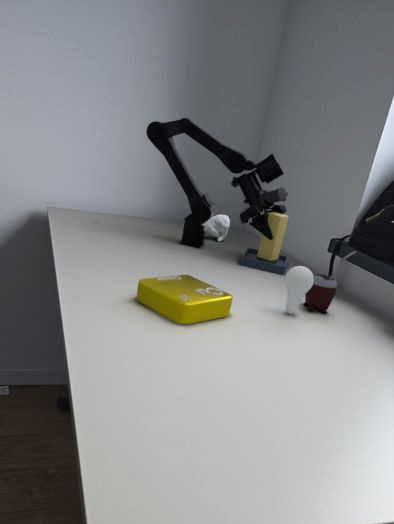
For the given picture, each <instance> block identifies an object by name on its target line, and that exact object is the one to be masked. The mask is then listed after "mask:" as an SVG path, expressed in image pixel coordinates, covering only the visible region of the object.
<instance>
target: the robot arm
mask: <svg viewBox="0 0 394 524" xmlns="http://www.w3.org/2000/svg"><path fill="white" fill-rule="evenodd" d="M145 134H146V137H147V138H148V140H149V141H150V143H151V144H152V145H153V146H154V147H155V149H156V150H158V151H159V152H160V153H161V154H162V156H163V158H164V159H165V161H166V162H167V164H168V166H169V168H170V169H171V171H172V173H173V174H174V175H173V176H174V177H175V178H176V180H177V182H178V184H179V185H180V187H181V188H182V190H183V192H184V194H185V196H186V198H187V201H188V205H189V209H190V212H191V213H189V214H188V215H186V216H185V217H184V219H183V220H184V223H183V229H182V235H181V240H180V241H179V244H182V245H185V246H190V247H195V248H201V247H202V246H203V245H204V244H205V241H206V236H207V233H206V231H205V226H204V225H203V224H204V223H205V222H207V221H208V220H209V219H210V218H211V217H214V214H215V207H214V205H215V203H214V202H213V201H212V199H211V197H210V195H209V193H208V192H206V193H203V192H202V191H201V190H200V188H198V186H197V184H196V182H195V180H194V179H193V177H192V175H191V173H190V171H189V169H188V168H187V165H186V164H185V162H184V160H183V159H182V157H181V155H180V154H179V152H178V149H177V147H176V144H175V140H174V137H175V136H179V135H182V134H185V135H186V136H188V137H189V138H191V139H192V140H193V141H195V142H196V143H198V144H199V145H200V146H202V147H203V148H204V149H205V150H207V151H209V152H210V153H211V154H213V155H214V156H216V157H217V159H218V160H219V161H220V162H221V164H222V165H223V166H224V167H226V169H227V170H228V171H230V172H231V173H232V174H234V175H235V174H236V175H237V174H241V173H242V174H241V175H239V176H237V177H236V176H232V181H231V183H230V185H231V187H232V188H237V187H239V188H240V191H241V193H242V195H243V197H244V199H243V203H244V204H245V205H248V207H247V208H245V209H244V210H243V211H241V212H240V214H239V220H240V222H241V224H248V225H249V226H251V227H252V228H254V229H255V230H256V231H258V232H259V234H261V235H262V234H263V235H264V236H265V237H267V238H268V239H269V240H272V239H273V235H272V232H271V229H270V226H269V224H268V215H269V213H270V212H276V213H279V214H283V215H285V213H287V211H288V210H287V207H286V205H284V204H276V203H279V202H286V201H287V197H288V195H289V193H288V192H287V190H286V189H285V188H284V187H281V186H280V187H278V188H276V189H274V190H269V191H268V190H266V189H263V187H262V185H261V183H262V184H263V183H266V185H269V184H270V183H272V182H274V181H275V180H277V179H278V178H280V177H282V176H283V175H285V172H284V170H283V168H282V166H281V164H280V162H278V160H277V159H276V156H275V154H274V153H270V154H269V155H268V156H267V157H266V158H264V159H262V160H260V161H259V162H255V161H252V160H250V159H249V157H247V155H246V154H245V153H244V152H241V151H240V150H237V149H235V148H233V147H231V146H228V145H226V144H224V143H222V142H221V141H220V140H218V139H217V138H215V137H214V136H213V135H211V134H210V133H209V132H207V131H206V130H204V129H203V128H202V127H200V126H199V125H198V124H196V123H195V122H194V121H193V120H192V119H191V118H189V117H182V118H181V119H176V120H171V121H166V122H164V121H158V120H155V121H152V122H150V123H149V124H148V125H147V127H146V133H145ZM245 171H249V172H247V173H246V172H245ZM258 178H259V179H258ZM260 182H261V183H260ZM249 220H251V222H249Z"/></svg>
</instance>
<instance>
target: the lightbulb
mask: <svg viewBox="0 0 394 524" xmlns="http://www.w3.org/2000/svg"><path fill="white" fill-rule="evenodd" d="M313 274H314V273H313V272H312V271H311V269H310V268H308V267H307V266H304V265H295V266H293V267H291V268H290V269H289V270H288V271H287V273H286V274H285V279H284V282H285V288H286V293H287V294H286V305H285V311H286V312H287V313H288V314H290V315H293V314H296V313H297V312H298V308H299V306H300V305H301V303H302V300H303V298H304V297H305V294H306V293H307V292H308V291H309V290H310V288H311V287H312V285H313V282H314V277H313Z"/></svg>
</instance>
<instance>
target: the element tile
mask: <svg viewBox="0 0 394 524" xmlns="http://www.w3.org/2000/svg"><path fill="white" fill-rule="evenodd" d="M135 297H136V301H137V302H138V303H140V304H141V305H143V306H145V307H147V308H149V309H151V310H153V312H156V313H157V314H160V315H161V316H163V317H164V318H167V319H169V321H172V322H173V323H176V324H179V325H191V324H196V323H197V324H198V323H201V322H205V321H206V322H207V321H210V320H211V321H212V320H216V319H221V318H226V317H228V316H229V315H230V313H231V308H232V303H233V302H232V301H233V295H232V294H231V293H229V292H227V291H224V290H222V289H220V288H218V287H216V286H214V285H211V284H210V283H207V282H205V281H203V280H201V279H198V278H196V277H194V276H192V275H190V274H178V275H167V276H158V277H149V278H147V277H146V278H141V279H139V280H138V283H137V290H136V296H135Z"/></svg>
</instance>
